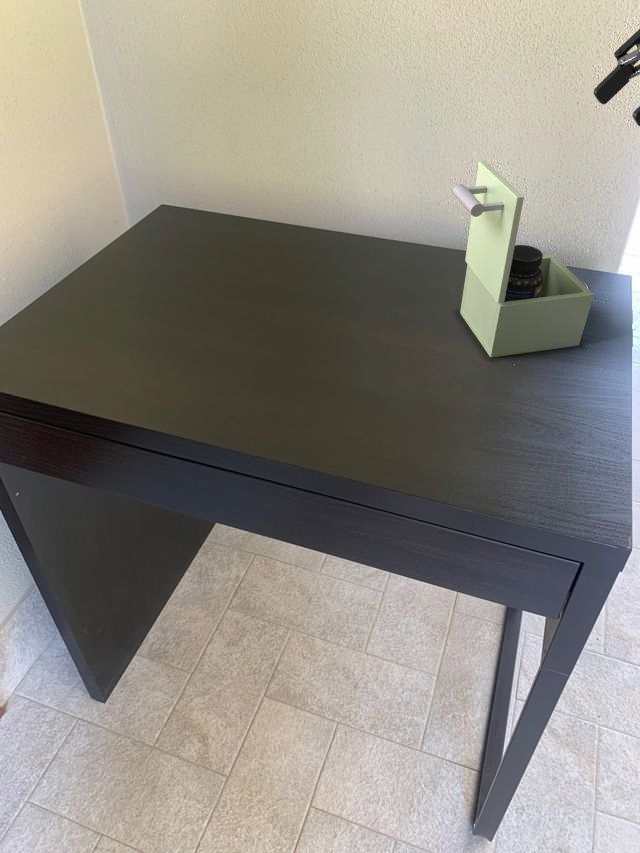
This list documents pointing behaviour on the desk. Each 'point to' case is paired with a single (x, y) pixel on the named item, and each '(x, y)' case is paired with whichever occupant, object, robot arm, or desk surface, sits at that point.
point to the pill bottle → (524, 274)
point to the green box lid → (491, 227)
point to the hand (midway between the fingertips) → (616, 110)
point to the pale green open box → (529, 313)
